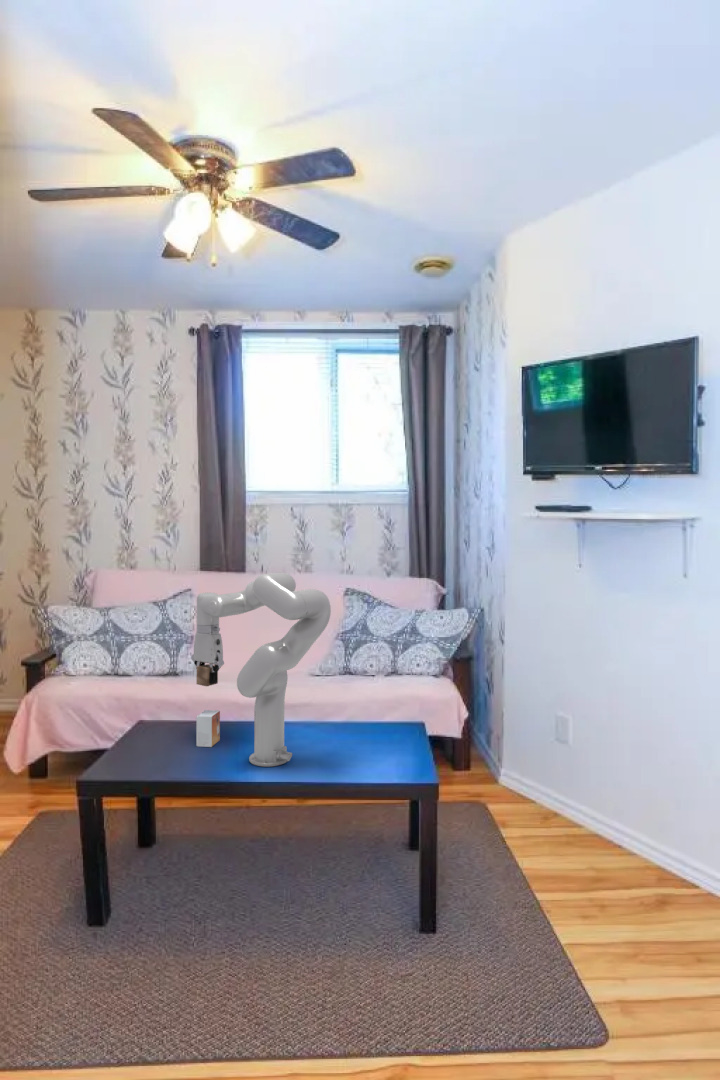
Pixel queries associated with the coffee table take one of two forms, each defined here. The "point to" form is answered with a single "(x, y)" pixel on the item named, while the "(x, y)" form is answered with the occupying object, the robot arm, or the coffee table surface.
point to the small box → (208, 728)
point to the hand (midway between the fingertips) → (207, 681)
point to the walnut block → (204, 675)
